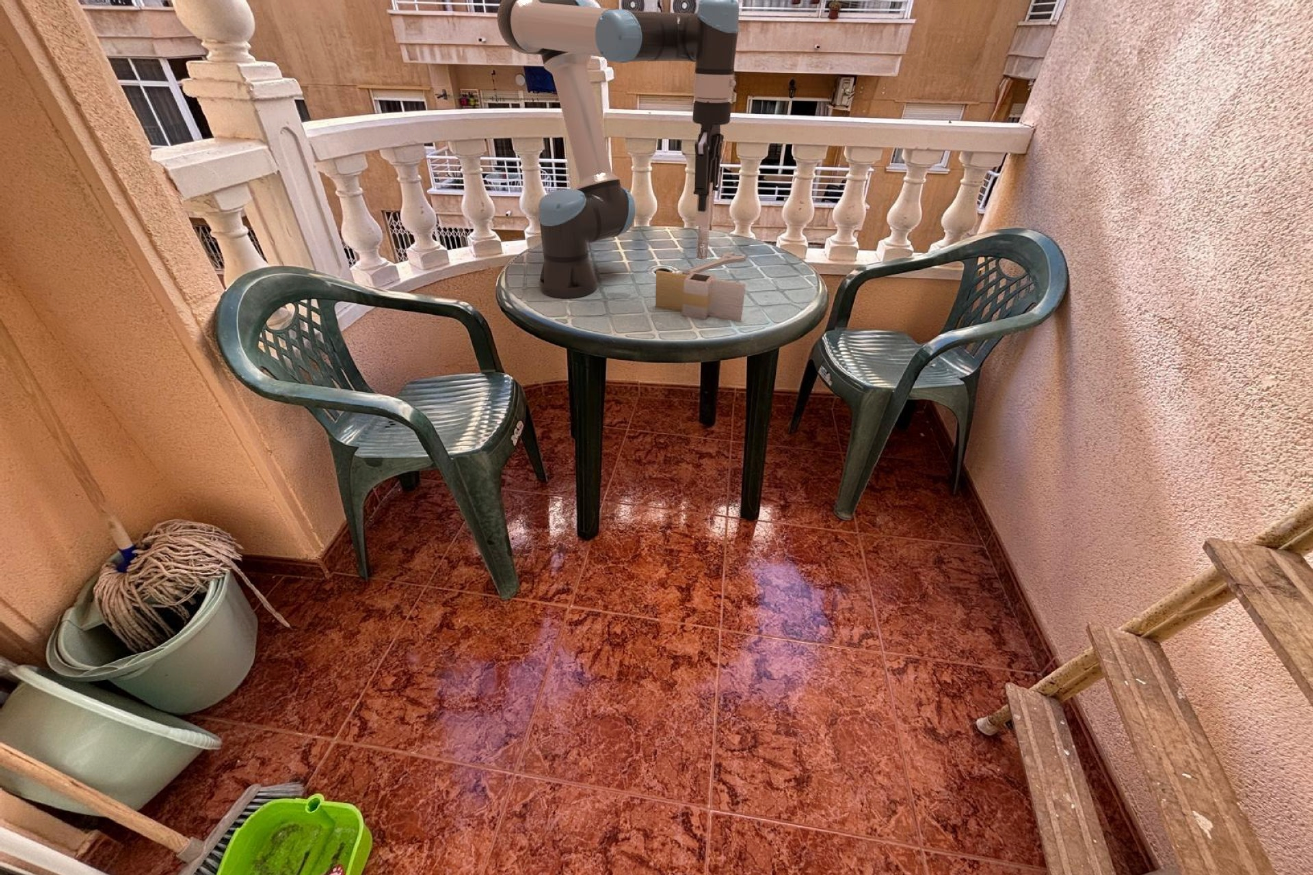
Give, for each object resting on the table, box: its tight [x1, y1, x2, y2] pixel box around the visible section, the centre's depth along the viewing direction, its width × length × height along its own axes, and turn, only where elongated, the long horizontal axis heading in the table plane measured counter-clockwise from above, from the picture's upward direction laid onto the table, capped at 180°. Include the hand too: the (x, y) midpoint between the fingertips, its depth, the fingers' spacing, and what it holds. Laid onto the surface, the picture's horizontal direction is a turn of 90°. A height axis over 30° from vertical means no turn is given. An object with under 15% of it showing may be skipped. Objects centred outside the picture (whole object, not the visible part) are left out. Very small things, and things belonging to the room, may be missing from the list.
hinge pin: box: [695, 182, 713, 260], centre depth 118 cm, size 2×2×16 cm
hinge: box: [655, 270, 747, 322], centre depth 129 cm, size 22×6×9 cm, turn 69°
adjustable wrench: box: [681, 251, 747, 275], centre depth 159 cm, size 25×6×2 cm, turn 127°
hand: (704, 224), depth 119 cm, fingers closed on hinge pin, 2 cm apart
